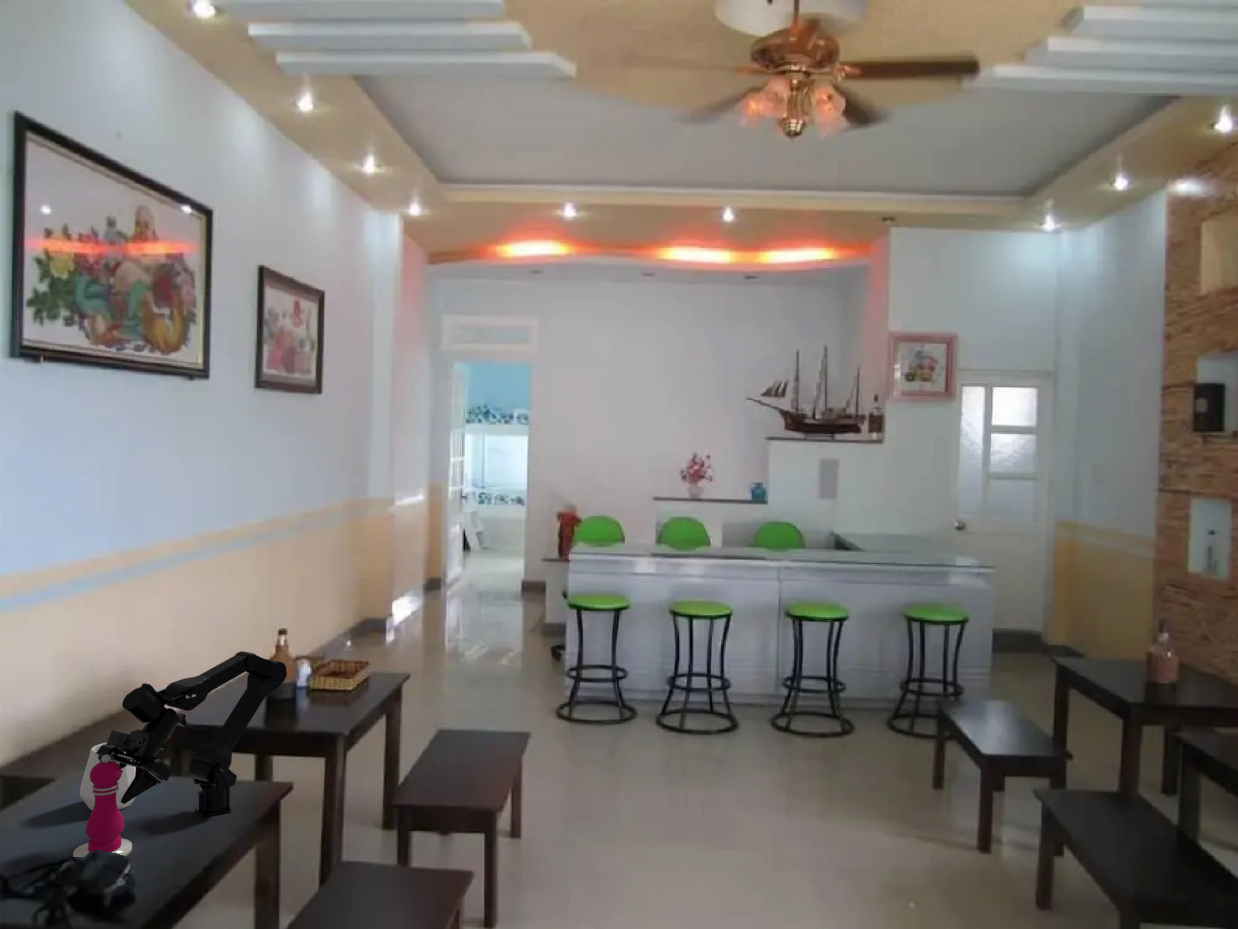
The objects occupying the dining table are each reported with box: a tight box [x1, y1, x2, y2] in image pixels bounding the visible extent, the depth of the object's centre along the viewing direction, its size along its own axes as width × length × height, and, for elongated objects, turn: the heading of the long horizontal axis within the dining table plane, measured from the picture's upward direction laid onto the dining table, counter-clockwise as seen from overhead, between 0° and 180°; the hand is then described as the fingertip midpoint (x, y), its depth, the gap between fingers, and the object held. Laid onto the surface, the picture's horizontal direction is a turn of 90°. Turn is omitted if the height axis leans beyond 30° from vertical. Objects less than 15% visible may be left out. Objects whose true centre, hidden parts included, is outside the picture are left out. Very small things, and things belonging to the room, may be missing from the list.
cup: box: [79, 742, 137, 811], centre depth 233 cm, size 13×13×14 cm
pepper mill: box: [85, 754, 125, 852], centre depth 206 cm, size 7×7×20 cm
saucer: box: [72, 837, 133, 858], centre depth 206 cm, size 11×11×1 cm
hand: (108, 798), depth 207 cm, fingers open, 9 cm apart
